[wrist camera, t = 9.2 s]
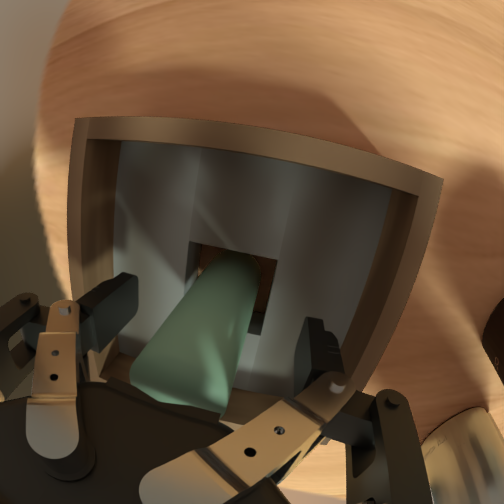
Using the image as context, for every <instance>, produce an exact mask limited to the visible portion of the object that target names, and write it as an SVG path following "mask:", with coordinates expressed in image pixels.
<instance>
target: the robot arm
mask: <svg viewBox="0 0 504 504" xmlns="http://www.w3.org/2000/svg"><path fill="white" fill-rule="evenodd" d="M138 306H139V280H138V277H137V276H136V275H133V274H130V273H126V272H121V273H120V274H119V275H117V276H116V277H114V278H113V279H109V280H106V281H103V282H101V283H100V284H99V285H97V286H96V287H94V288H93V289H91V291H89V292H87V293H86V294H85V295H83V296H82V297H80V298H79V299H78V300H76V301H72V300H61V301H57V302H55V303H54V304H53V305H51V307H46V306H41V305H40V304H39V299H38V296H37V295H35V294H33V293H22V294H19V295H17V296H16V297H14V298H13V299H11V300H10V301H9V302H7V303H6V304H4V305H3V306H1V307H0V504H291V503H290V502H289V501H288V500H287V499H286V497H285V496H284V494H283V493H282V492H281V491H280V489H279V488H278V487H277V485H278V484H279V483H280V482H282V481H283V480H284V479H285V478H286V477H287V476H288V475H289V474H290V473H291V472H292V471H293V470H294V469H295V468H296V467H297V466H298V465H299V464H300V463H301V462H302V461H303V460H304V459H305V458H306V457H307V456H308V455H309V454H310V453H311V452H312V451H313V450H314V449H315V448H316V447H317V446H318V445H319V444H320V443H321V442H322V441H323V440H324V439H325V438H326V437H327V438H330V439H333V440H336V441H339V442H342V443H345V448H346V504H433V502H432V497H431V492H432V496H433V500H434V504H504V438H503V436H502V434H501V432H500V430H499V429H498V427H497V425H496V423H495V421H494V419H493V417H492V416H491V414H490V413H487V412H486V411H485V409H484V408H482V407H476V408H472V409H469V410H466V411H464V412H462V413H460V414H458V415H456V416H455V417H453V418H451V419H450V420H448V421H447V422H445V423H444V424H442V425H441V426H440V427H438V428H437V429H436V430H435V431H434V432H432V433H431V434H430V435H429V436H428V437H427V438H426V440H425V441H424V442H423V444H422V446H421V445H420V442H419V438H418V434H417V430H416V427H415V423H414V420H413V417H412V413H411V410H410V407H409V403H408V401H407V399H406V398H405V397H404V396H403V395H402V394H401V393H399V392H397V391H395V390H391V389H384V390H381V391H380V392H378V394H377V395H376V397H374V396H371V395H368V394H365V393H362V392H360V391H358V390H356V385H355V383H354V381H353V380H352V379H351V378H350V377H349V376H347V375H345V371H344V366H343V361H342V357H341V354H340V353H341V352H340V348H339V343H338V339H337V338H336V337H335V335H334V334H333V333H332V332H330V331H325V329H324V323H323V319H319V318H314V317H308V316H306V318H305V320H304V323H303V326H302V329H301V332H300V335H299V338H298V341H297V344H296V348H295V354H294V398H293V399H291V398H290V397H284V398H283V399H281V400H280V401H279V402H277V403H276V404H274V405H273V406H272V407H270V408H269V409H267V410H266V411H264V412H263V413H262V414H260V415H259V416H257V417H256V418H254V419H253V420H251V421H250V422H248V423H247V424H245V425H244V426H242V427H240V428H239V429H237V430H236V431H234V430H233V429H232V428H230V427H228V426H227V425H225V424H223V423H221V422H219V421H220V415H221V413H217V412H213V411H209V410H206V409H202V408H198V407H195V406H191V405H182V404H173V403H165V402H160V401H157V400H156V399H154V398H152V397H151V396H149V395H148V394H146V393H145V392H143V391H142V390H140V389H138V388H137V387H136V386H133V385H131V384H128V383H126V382H124V381H121V380H119V379H116V378H114V377H112V376H111V377H110V378H109V379H108V381H107V382H106V383H104V382H94V381H91V380H90V369H89V357H88V351H89V350H93V351H95V352H97V353H99V354H100V353H101V352H102V350H103V349H104V348H105V347H106V346H107V345H108V344H109V343H110V342H111V341H112V340H113V339H114V337H115V336H116V335H117V334H118V333H119V332H120V331H121V330H122V329H123V328H124V327H125V326H126V325H127V324H128V323H129V322H130V320H131V319H132V318H133V317H134V316H135V315H136V313H137V311H138ZM19 329H20V332H21V334H22V338H23V340H22V341H21V342H20V343H19V344H17V345H16V346H15V347H14V348H13V349H12V350H11V351H9V348H8V341H9V338H10V337H11V336H12V335H13V334H15V333H16V332H17V331H18V330H19ZM33 369H34V373H33V382H32V394H31V396H26V397H22V398H18V399H13V400H8V401H5V400H6V399H7V398H8V397H9V396H10V394H11V393H12V392H13V391H14V390H15V389H16V388H17V386H18V385H19V384H20V383H21V382H22V381H23V380H24V379H25V378H26V377H27V375H28V374H29V373H30V372H31V371H32V370H33ZM429 484H430V485H429ZM430 488H431V490H430Z"/></svg>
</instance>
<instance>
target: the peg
mask: <svg viewBox="0 0 504 504" xmlns="http://www.w3.org/2000/svg"><path fill="white" fill-rule="evenodd" d="M260 281H261V270H260V266H259V264H258V262H257V261H256V259H255V258H254V257H253V256H252V255H250V254H248V253H243V252H238V251H233V250H229V249H227V250H224V251H222V252H220V253H218V254H217V255H216V256H215V257H214V258H213V260H212V261H211V262H210V263H209V265H208V266H207V267H206V269H205V270H204V271H203V272H202V274H201V275H200V276H199V277H198V279H197V280H196V281H195V282H194V284H193V285H192V286H191V288H190V289H189V290H188V291H187V293H186V294H185V295H184V297H183V298H182V299H181V300H180V302H179V303H178V304H177V306H176V307H175V308H174V309H173V311H172V312H171V313H170V315H169V316H168V317H167V319H166V320H165V321H164V323H163V324H162V325H161V326H160V328H159V329H158V330H157V332H156V333H155V334H154V336H153V337H152V338H151V340H150V341H149V342H148V344H147V345H146V346H145V348H144V349H143V350H142V352H141V353H140V354H139V356H138V357H137V358H136V360H135V361H134V362H133V364H132V365H131V368H130V372H129V376H130V382H131V385H133V386H136V387H137V388H138V389H140V390H142V391H143V392H145V393H146V394H148V395H149V396H151V397H152V398H154V399H156V400H157V401H160V402H165V403H173V404H182V405H191V406H195V407H198V408H202V409H206V410H209V411H213V412H217V413H221V415H220V418H221V417H222V416H223V415H224V414H225V412H226V409H227V405H228V401H229V398H230V394H231V390H232V387H233V383H234V379H235V376H236V372H237V368H238V365H239V361H240V357H241V353H242V350H243V346H244V342H245V338H246V335H247V331H248V327H249V323H250V319H251V315H252V312H253V308H254V304H255V300H256V296H257V292H258V288H259V284H260Z"/></svg>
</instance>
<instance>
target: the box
mask: <svg viewBox="0 0 504 504" xmlns="http://www.w3.org/2000/svg"><path fill="white" fill-rule="evenodd" d="M443 180H444V179H442V178H440V177H437V176H435V175H432V174H430V173H427V172H425V171H422V170H420V169H417V168H414V167H412V166H409V165H406V164H403V163H400V162H397V161H395V160H392V159H389V158H386V157H382V156H379V155H376V154H373V153H370V152H366V151H363V150H359V149H356V148H352V147H349V146H345V145H341V144H338V143H334V142H330V141H326V140H322V139H317V138H313V137H308V136H304V135H299V134H294V133H289V132H284V131H279V130H274V129H268V128H262V127H256V126H249V125H242V124H235V123H227V122H218V121H209V120H198V119H186V118H170V117H140V116H119V117H90V118H75V124H74V131H73V138H72V145H71V154H70V164H69V176H68V195H67V240H68V259H69V272H70V282H71V291H72V298H73V301H76V300H78V299H79V298H80V297H82V296H83V295H85V294H86V293H87V292H89V291H91V289H93V288H94V287H96V286H97V285H99V284H100V283H101V282H103V281H106V280H109V279H113V278H114V277H116V276H117V275H119V274H120V273H121V272H126V273H130V274H133V275H136V276H137V277H138V280H139V306H138V311H137V313H136V315H135V316H134V317H133V318H132V319H131V320H130V322H129V323H128V324H127V325H126V326H125V327H124V328H123V329H122V330H121V331H120V332H119V333H118V334H117V335H116V336H115V337H114V339H113V340H112V341H111V342H110V343H109V344H108V345H107V346H106V347H105V348H104V349H103V350H102V352H101V353H100V354H99V353H97V352H95V351H93V350H89V351H88V357H89V369H90V380H91V381H94V382H104V383H106V382H107V381H108V379H109V378H110V377H111V376H112V377H114V378H116V379H119V380H121V381H124V382H126V383H128V384H131V382H130V376H129V372H130V368H131V365H132V364H133V362H134V361H135V360H136V358H137V357H138V356H139V354H140V353H141V352H142V350H143V349H144V348H145V346H146V345H147V344H148V342H149V341H150V340H151V338H152V337H153V336H154V334H155V333H156V332H157V330H158V329H159V328H160V326H161V325H162V324H163V323H164V321H165V320H166V319H167V317H168V316H169V315H170V313H171V312H172V311H173V309H174V308H175V307H176V306H177V304H178V303H179V302H180V300H181V299H182V298H183V297H184V295H185V294H186V293H187V291H188V290H189V289H190V288H191V286H192V285H193V284H194V282H195V281H196V280H197V276H198V267H199V259H200V251H201V244H205V245H210V246H215V247H219V248H224V249H229V250H233V251H238V252H243V253H248V254H252V255H257V256H262V257H266V258H271V259H276V260H277V262H276V266H275V271H274V275H273V279H272V284H271V288H270V292H269V297H268V301H267V305H266V310H265V314H263V313H258V312H252V315H251V319H250V323H249V327H248V331H247V335H246V338H245V342H244V346H243V350H242V353H241V357H240V361H239V365H238V368H237V372H236V376H235V379H234V383H233V387H232V390H231V394H230V398H229V401H228V405H227V409H226V412H225V414H224V415H223V416H222V417H221V418H220V421H219V422H221V423H223V424H225V425H227V426H228V427H230V428H232V429H233V430H234V431H236V430H237V429H239V428H240V427H242V426H244V425H245V424H247V423H248V422H250V421H251V420H253V419H254V418H256V417H257V416H259V415H260V414H262V413H263V412H264V411H266V410H267V409H269V408H270V407H272V406H273V405H274V404H276V403H277V402H279V401H280V400H281V399H283V398H284V397H290V398H291V399H293V398H294V354H295V348H296V344H297V341H298V338H299V335H300V332H301V329H302V326H303V323H304V320H305V318H306V316H308V317H314V318H319V319H323V323H324V329H325V331H330V332H332V333H333V334H334V335H335V337H336V338H337V339H338V343H339V348H340V352H341V353H340V354H341V357H342V361H343V366H344V371H345V375H347V376H349V377H350V378H351V379H352V380H353V381H354V383H355V385H356V390H358V391H360V392H362V391H363V389H364V387H365V386H366V384H367V382H368V380H369V379H370V377H371V375H372V373H373V371H374V370H375V368H376V366H377V364H378V362H379V360H380V358H381V357H382V355H383V353H384V351H385V349H386V347H387V345H388V343H389V341H390V339H391V336H392V334H393V332H394V330H395V328H396V326H397V323H398V321H399V319H400V317H401V314H402V312H403V310H404V307H405V305H406V303H407V300H408V298H409V295H410V293H411V290H412V288H413V285H414V282H415V280H416V277H417V274H418V271H419V268H420V266H421V263H422V260H423V257H424V253H425V250H426V247H427V244H428V241H429V237H430V234H431V230H432V227H433V223H434V219H435V215H436V212H437V207H438V203H439V199H440V194H441V190H442V185H443ZM329 441H330V438H327V437H326V438H325V439H324V440H323V441H322V442H321V443H320V444H319V445H327V443H328V442H329Z"/></svg>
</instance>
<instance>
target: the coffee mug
mask: <svg viewBox="0 0 504 504" xmlns="http://www.w3.org/2000/svg"><path fill="white" fill-rule="evenodd" d="M482 344H483V348H484V350H485V352H486V354H487V355H488V357H489V359H490V361H491V362H492V364H493V366H494V368H495V370H496V372H497V374H498V375H499V377H500V379H501V381H502V383H503V385H504V298H503V299H502V301H501V302H500V303H499V304H498V305H497V307H496V308H495V309H494V311H493V313H492V314H491V316H490V318H489V320H488V322H487V324H486V327H485V329H484V333H483V339H482Z"/></svg>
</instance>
